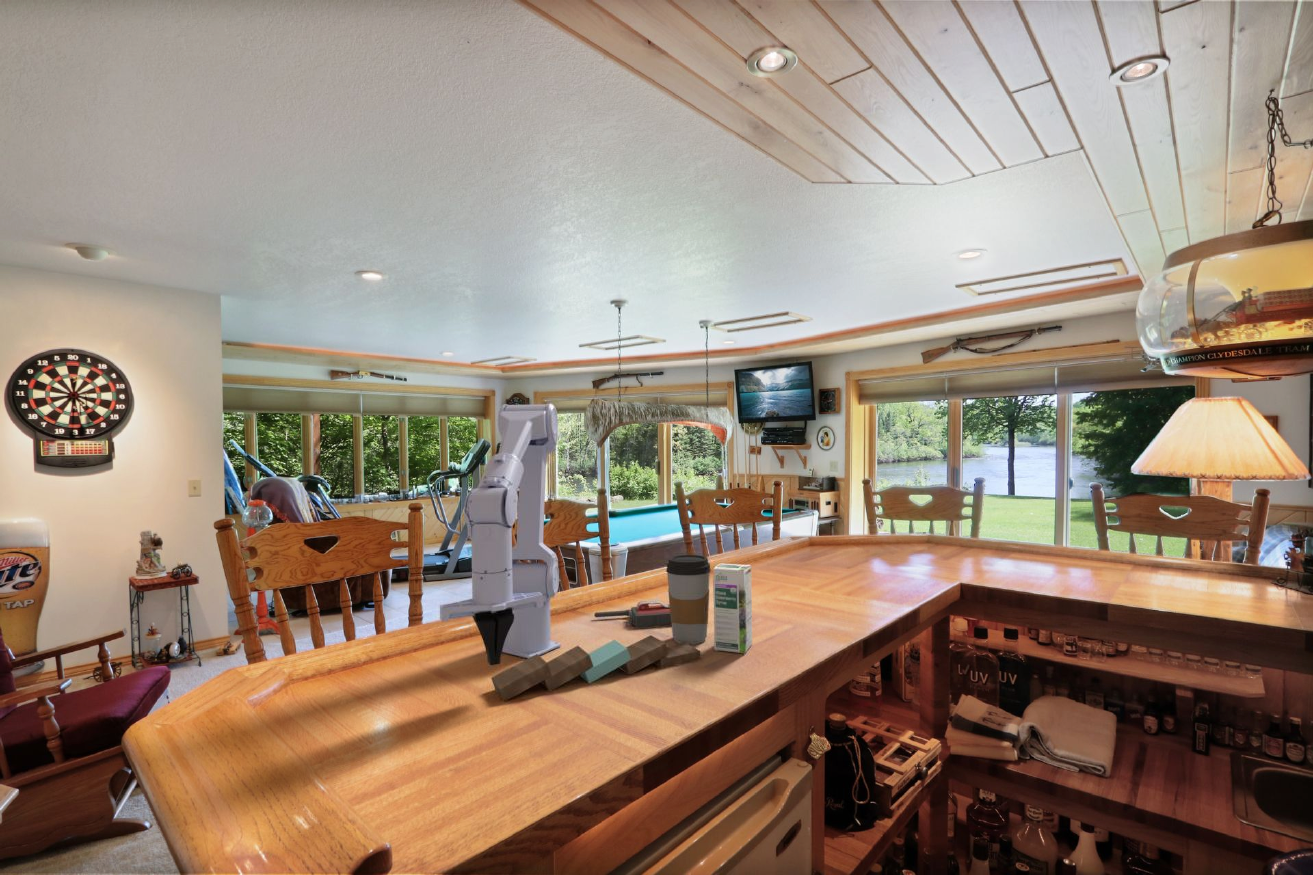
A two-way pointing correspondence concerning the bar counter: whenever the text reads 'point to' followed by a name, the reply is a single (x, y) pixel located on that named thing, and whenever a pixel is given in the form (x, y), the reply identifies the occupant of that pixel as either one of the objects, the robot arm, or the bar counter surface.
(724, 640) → the syrup box
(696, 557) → the coffee cup
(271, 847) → the bar counter surface
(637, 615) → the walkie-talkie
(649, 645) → the domino
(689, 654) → the domino
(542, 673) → the domino
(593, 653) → the domino
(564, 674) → the domino
